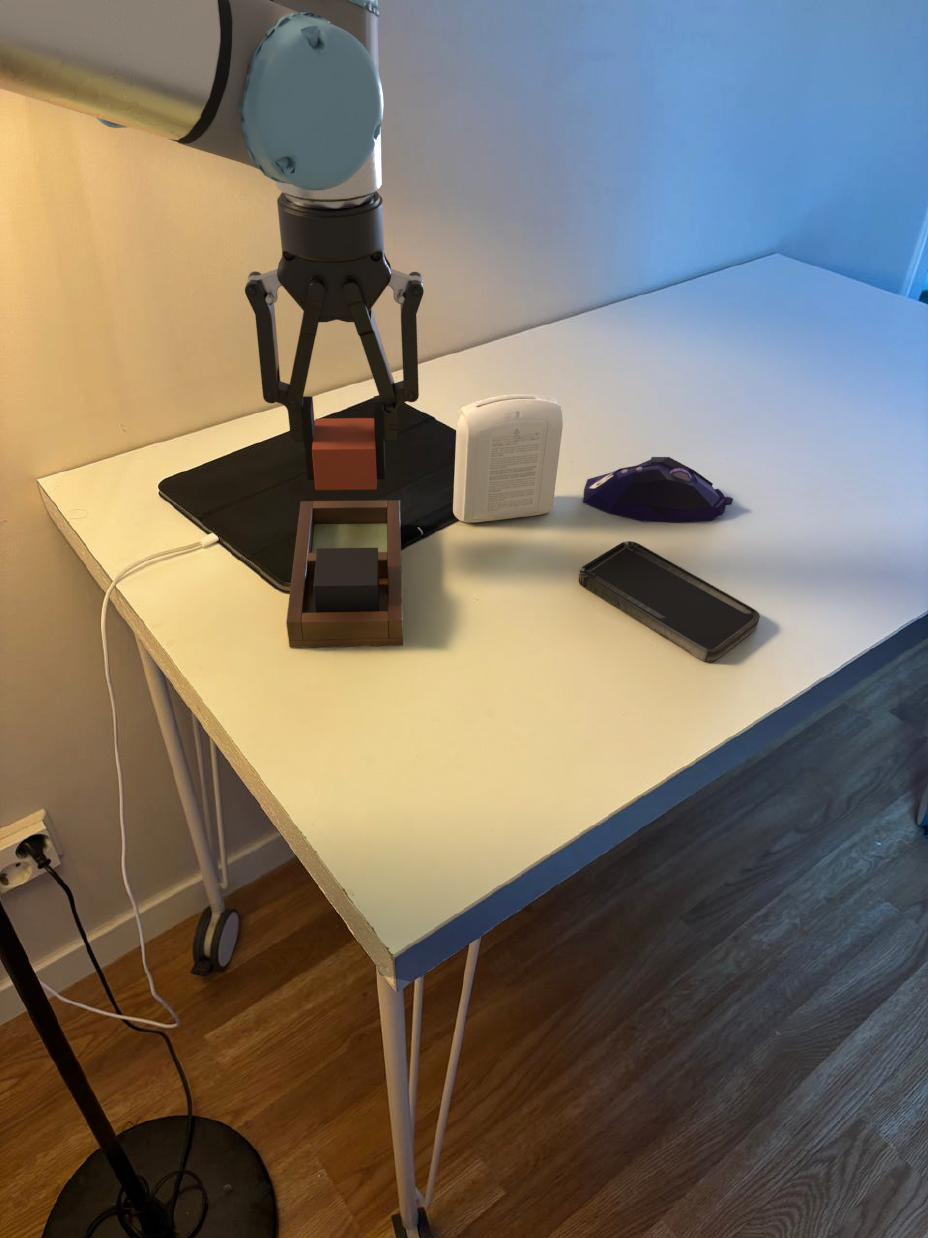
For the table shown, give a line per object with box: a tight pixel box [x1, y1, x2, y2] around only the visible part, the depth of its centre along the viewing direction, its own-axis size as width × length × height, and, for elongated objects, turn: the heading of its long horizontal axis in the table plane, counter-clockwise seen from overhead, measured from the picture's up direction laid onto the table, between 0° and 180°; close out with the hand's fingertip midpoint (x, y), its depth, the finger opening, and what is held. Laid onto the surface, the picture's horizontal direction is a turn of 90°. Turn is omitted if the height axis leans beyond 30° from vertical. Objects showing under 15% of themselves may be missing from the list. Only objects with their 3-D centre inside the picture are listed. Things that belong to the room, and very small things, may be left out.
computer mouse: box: [582, 456, 734, 524], centre depth 96 cm, size 9×15×4 cm, turn 79°
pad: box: [312, 417, 378, 491], centre depth 82 cm, size 5×5×4 cm
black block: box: [313, 548, 379, 613], centre depth 81 cm, size 5×5×4 cm
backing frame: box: [285, 499, 404, 648], centre depth 85 cm, size 9×18×3 cm, turn 4°
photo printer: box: [452, 393, 564, 523], centre depth 91 cm, size 10×4×12 cm, turn 105°
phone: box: [578, 540, 761, 663], centre depth 84 cm, size 8×1×15 cm
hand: (346, 470), depth 83 cm, fingers closed on pad, 5 cm apart
